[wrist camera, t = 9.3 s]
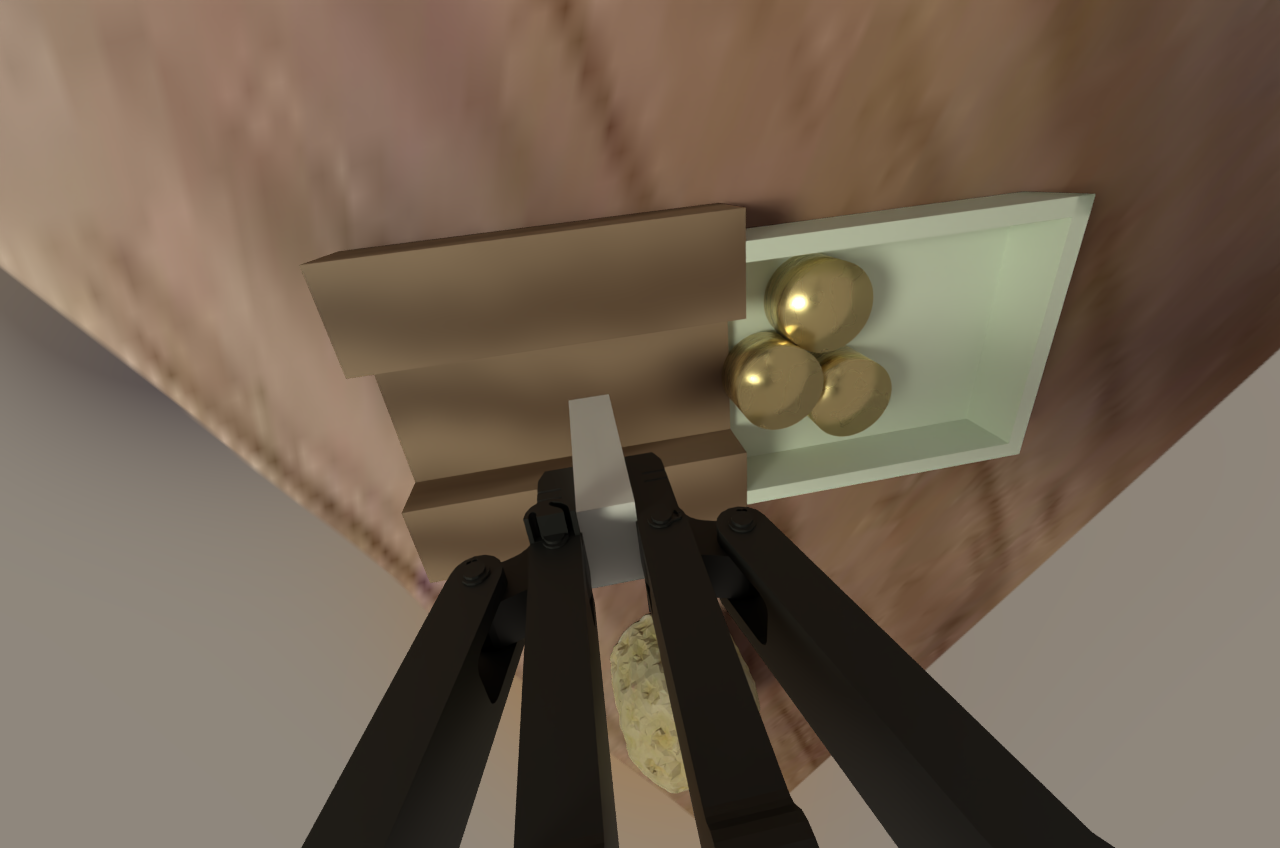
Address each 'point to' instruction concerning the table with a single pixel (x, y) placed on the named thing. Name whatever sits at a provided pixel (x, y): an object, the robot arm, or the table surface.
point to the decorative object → (650, 706)
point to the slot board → (543, 360)
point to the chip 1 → (818, 301)
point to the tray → (925, 333)
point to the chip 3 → (850, 392)
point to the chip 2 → (772, 380)
